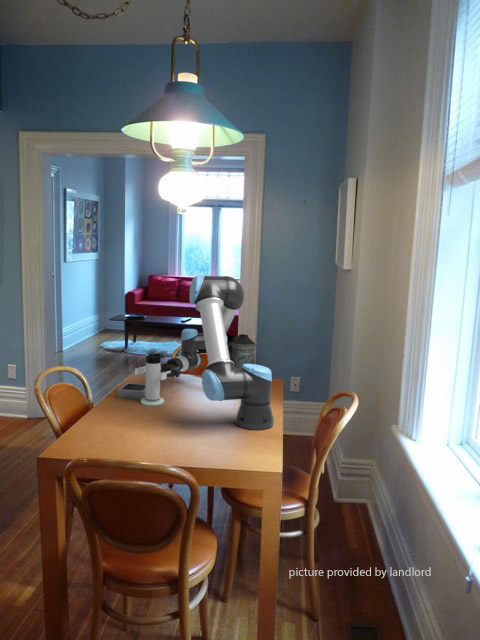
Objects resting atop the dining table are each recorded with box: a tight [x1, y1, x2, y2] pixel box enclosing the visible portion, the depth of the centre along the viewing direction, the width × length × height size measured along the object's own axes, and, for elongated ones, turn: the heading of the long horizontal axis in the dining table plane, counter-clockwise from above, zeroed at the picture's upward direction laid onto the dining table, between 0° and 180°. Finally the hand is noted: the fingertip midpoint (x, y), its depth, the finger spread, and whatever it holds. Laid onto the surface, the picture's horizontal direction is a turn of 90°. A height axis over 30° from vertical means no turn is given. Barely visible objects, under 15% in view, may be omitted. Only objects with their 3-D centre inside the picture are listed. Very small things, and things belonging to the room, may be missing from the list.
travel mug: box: [145, 353, 162, 402], centre depth 218 cm, size 6×7×20 cm
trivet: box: [140, 396, 165, 407], centre depth 219 cm, size 10×10×1 cm
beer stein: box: [227, 333, 257, 369], centre depth 256 cm, size 16×19×25 cm
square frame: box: [117, 382, 146, 400], centre depth 229 cm, size 12×12×4 cm
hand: (148, 374), depth 215 cm, fingers open, 13 cm apart
